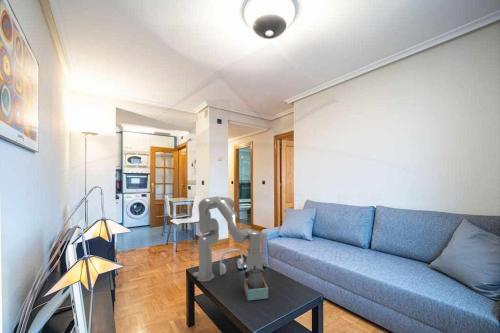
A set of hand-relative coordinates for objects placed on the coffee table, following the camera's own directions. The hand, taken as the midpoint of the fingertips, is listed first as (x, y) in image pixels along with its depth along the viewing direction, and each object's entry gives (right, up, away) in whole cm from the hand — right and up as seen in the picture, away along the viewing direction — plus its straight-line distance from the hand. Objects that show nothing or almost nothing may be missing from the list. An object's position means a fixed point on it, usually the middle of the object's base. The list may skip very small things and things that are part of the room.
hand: (254, 276), depth 140 cm
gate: (+2, -10, -8) cm, 13 cm away
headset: (-17, -11, +29) cm, 35 cm away
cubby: (+1, -10, -1) cm, 11 cm away
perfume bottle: (+1, -10, -1) cm, 10 cm away
